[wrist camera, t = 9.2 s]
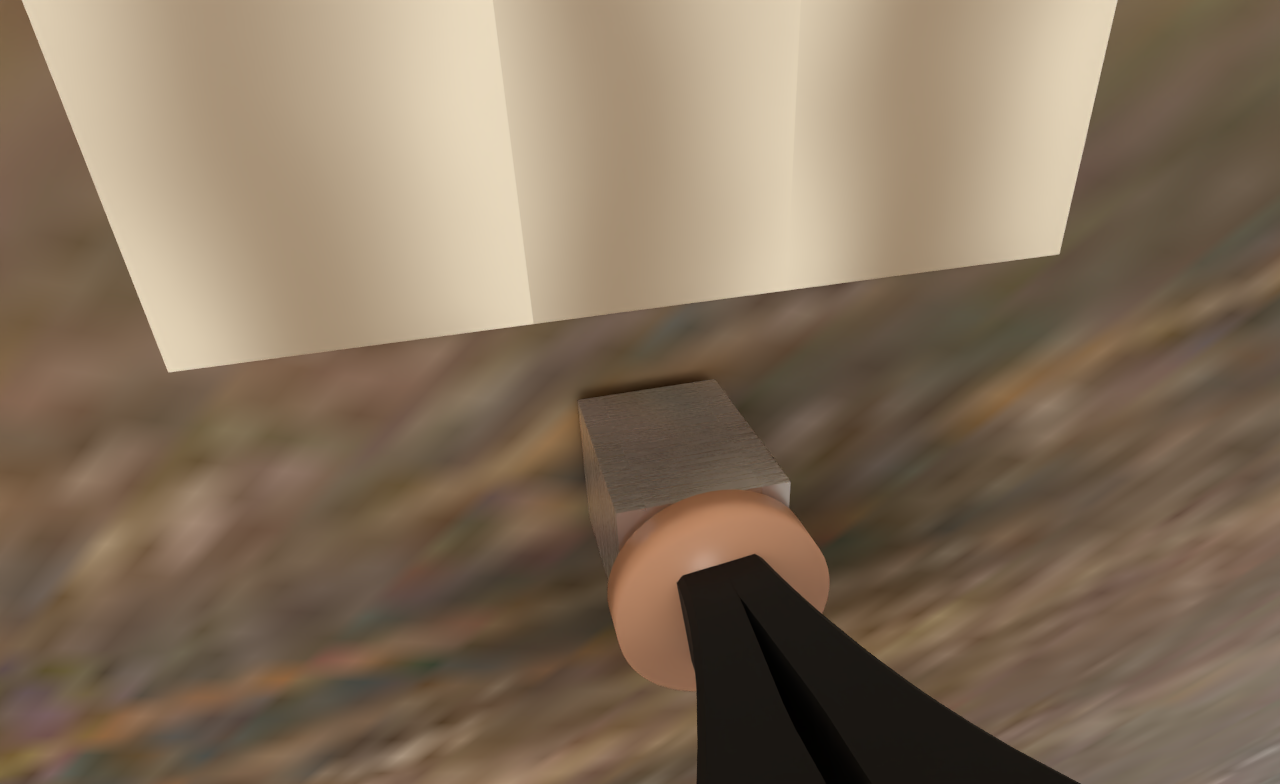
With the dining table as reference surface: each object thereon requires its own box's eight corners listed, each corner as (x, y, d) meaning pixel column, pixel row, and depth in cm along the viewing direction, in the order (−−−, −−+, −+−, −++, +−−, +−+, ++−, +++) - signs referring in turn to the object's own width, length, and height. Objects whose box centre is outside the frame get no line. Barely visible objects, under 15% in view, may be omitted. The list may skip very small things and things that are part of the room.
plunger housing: (714, 379, 16) (790, 481, 12) (714, 492, 17) (782, 613, 14) (577, 400, 15) (615, 513, 12) (589, 515, 17) (626, 647, 13)
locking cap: (740, 379, 15) (838, 500, 11) (737, 520, 17) (821, 665, 13) (567, 406, 14) (609, 543, 11) (582, 549, 16) (623, 711, 12)
